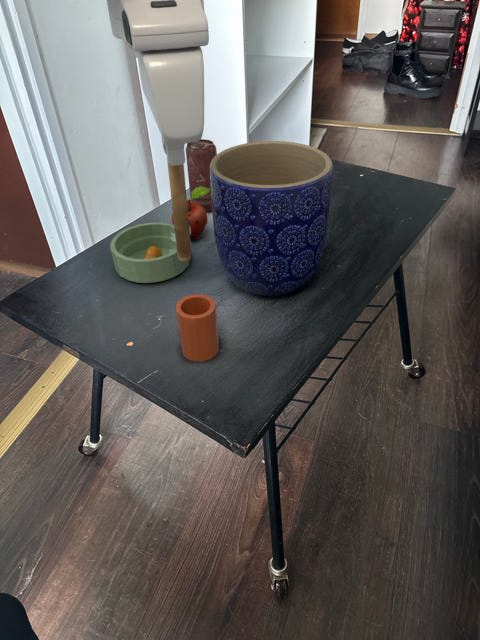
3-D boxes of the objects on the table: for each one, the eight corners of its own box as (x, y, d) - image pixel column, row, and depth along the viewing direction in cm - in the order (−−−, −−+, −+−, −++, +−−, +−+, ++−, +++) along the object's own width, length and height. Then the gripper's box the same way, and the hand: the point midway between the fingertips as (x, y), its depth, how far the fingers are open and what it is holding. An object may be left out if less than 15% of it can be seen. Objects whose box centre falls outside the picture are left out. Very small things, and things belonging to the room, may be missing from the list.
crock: (185, 365, 67) (179, 321, 62) (179, 340, 71) (173, 297, 66) (222, 357, 68) (219, 314, 63) (214, 333, 72) (210, 291, 67)
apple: (187, 249, 91) (181, 201, 85) (168, 236, 96) (161, 189, 89) (219, 236, 95) (215, 188, 89) (199, 224, 99) (194, 177, 93)
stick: (178, 265, 61) (162, 111, 49) (177, 258, 62) (160, 106, 50) (192, 263, 61) (179, 109, 49) (190, 256, 63) (177, 105, 51)
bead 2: (138, 271, 84) (143, 266, 82) (141, 256, 85) (146, 250, 83) (155, 276, 86) (160, 271, 83) (157, 260, 86) (162, 255, 84)
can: (219, 213, 103) (215, 148, 94) (190, 213, 103) (183, 148, 94) (221, 200, 107) (217, 137, 99) (193, 201, 108) (186, 138, 99)
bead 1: (156, 259, 89) (152, 268, 87) (144, 248, 88) (140, 257, 85) (167, 251, 87) (163, 260, 85) (155, 240, 86) (151, 248, 84)
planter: (339, 266, 85) (353, 151, 72) (291, 322, 74) (297, 198, 60) (252, 240, 93) (250, 133, 80) (196, 287, 82) (183, 171, 68)
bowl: (118, 291, 81) (112, 267, 78) (114, 251, 92) (108, 228, 88) (196, 278, 84) (193, 253, 81) (183, 240, 94) (180, 217, 91)
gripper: (116, 2, 52) (137, 132, 60) (132, 30, 36) (157, 199, 45) (173, -2, 53) (186, 126, 62) (212, 24, 37) (222, 190, 46)
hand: (174, 158), depth 53 cm, fingers closed on stick, 2 cm apart
